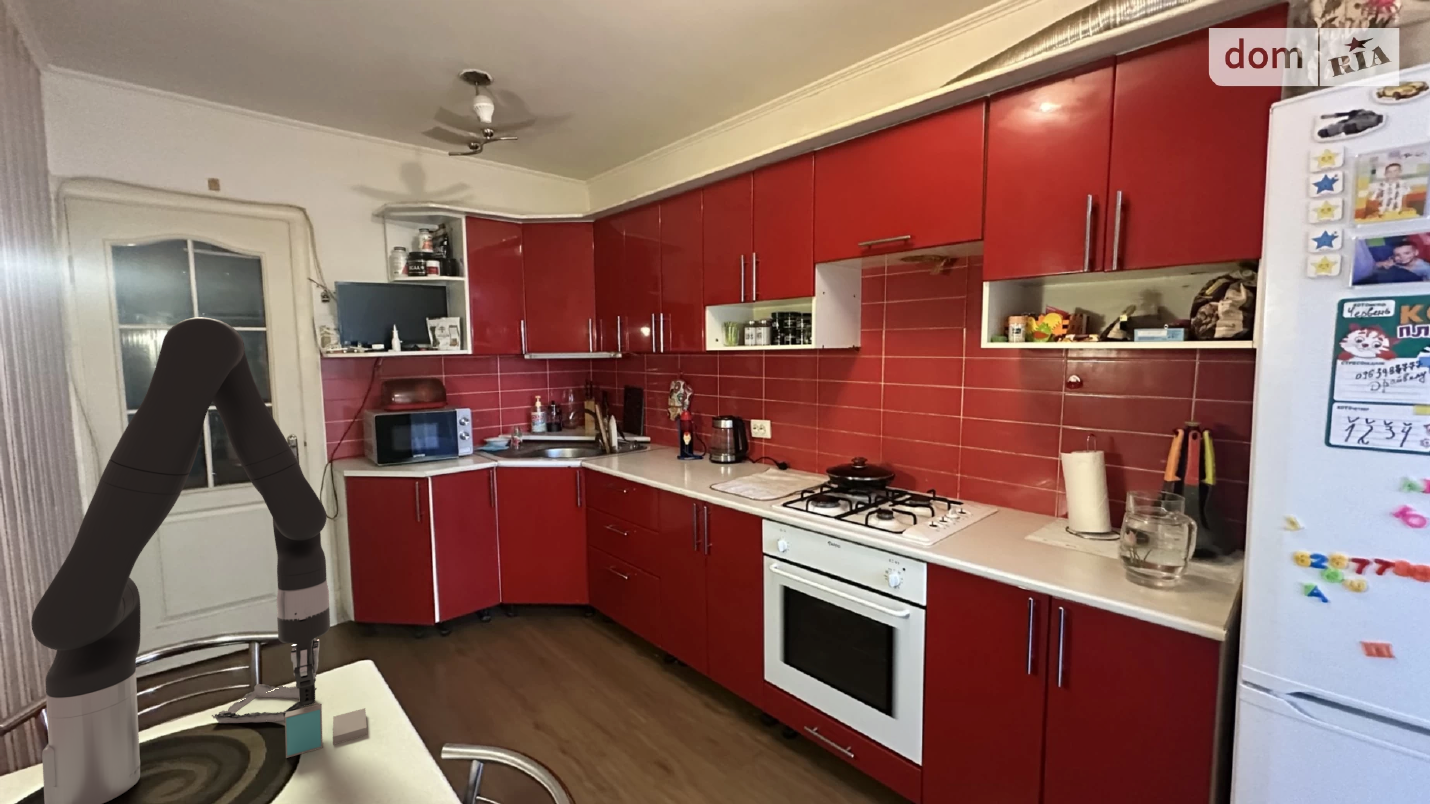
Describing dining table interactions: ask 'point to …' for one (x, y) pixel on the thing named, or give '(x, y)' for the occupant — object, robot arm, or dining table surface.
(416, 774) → the dining table surface
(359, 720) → the beige rectangular block
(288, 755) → the beige flat slab
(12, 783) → the dining table surface
